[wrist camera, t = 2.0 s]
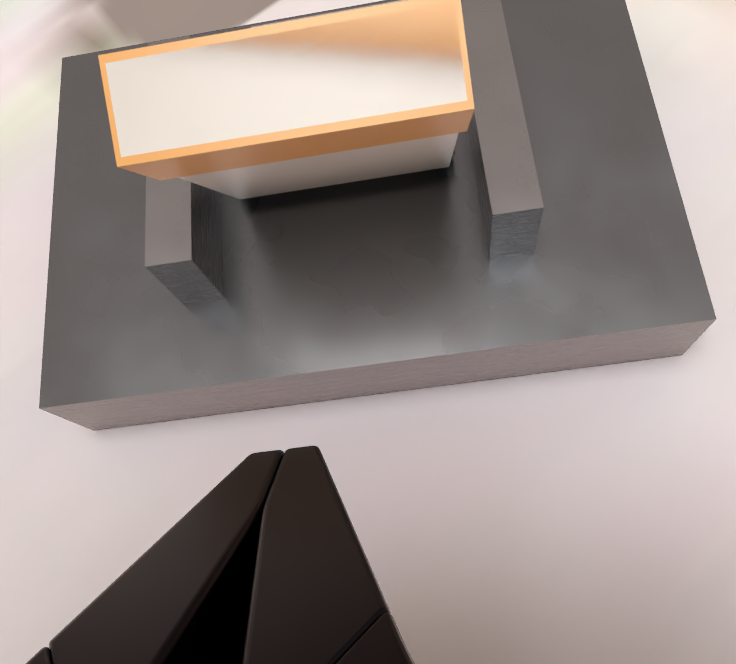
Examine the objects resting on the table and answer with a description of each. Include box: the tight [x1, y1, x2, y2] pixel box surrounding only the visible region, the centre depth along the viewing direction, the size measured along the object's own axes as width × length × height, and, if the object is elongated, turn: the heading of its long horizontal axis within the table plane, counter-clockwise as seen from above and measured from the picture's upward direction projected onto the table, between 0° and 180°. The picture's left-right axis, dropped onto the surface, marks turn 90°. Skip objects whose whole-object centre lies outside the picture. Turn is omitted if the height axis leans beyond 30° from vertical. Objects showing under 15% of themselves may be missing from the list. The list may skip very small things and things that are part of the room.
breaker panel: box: [39, 0, 716, 430], centre depth 21 cm, size 12×18×6 cm, turn 96°
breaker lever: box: [98, 0, 474, 199], centre depth 16 cm, size 2×6×8 cm, turn 95°
